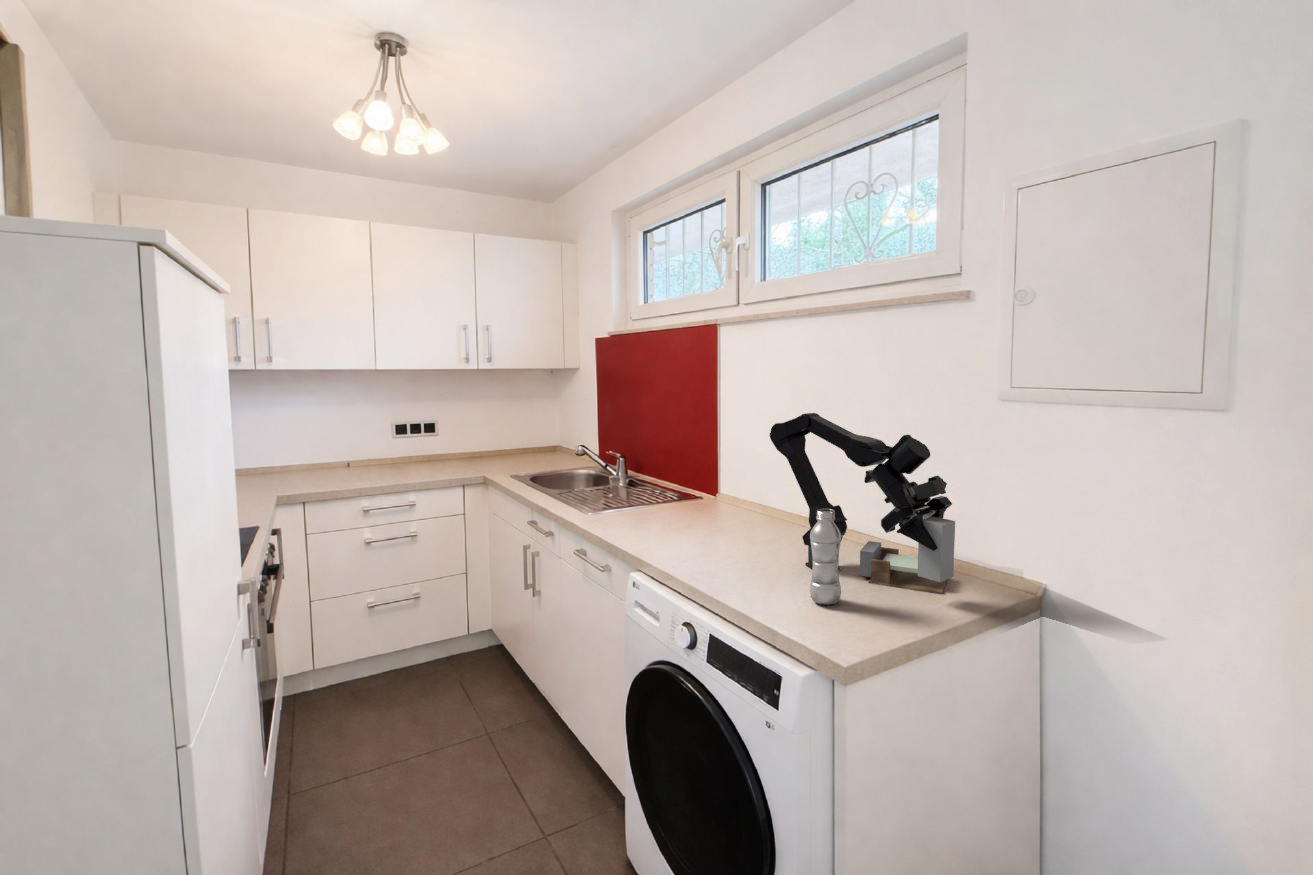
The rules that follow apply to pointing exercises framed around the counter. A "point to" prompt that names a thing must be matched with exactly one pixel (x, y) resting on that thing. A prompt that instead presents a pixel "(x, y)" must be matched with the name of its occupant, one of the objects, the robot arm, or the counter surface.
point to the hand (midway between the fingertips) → (942, 547)
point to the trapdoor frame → (901, 576)
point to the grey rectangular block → (937, 550)
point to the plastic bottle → (825, 559)
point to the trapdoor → (896, 561)
